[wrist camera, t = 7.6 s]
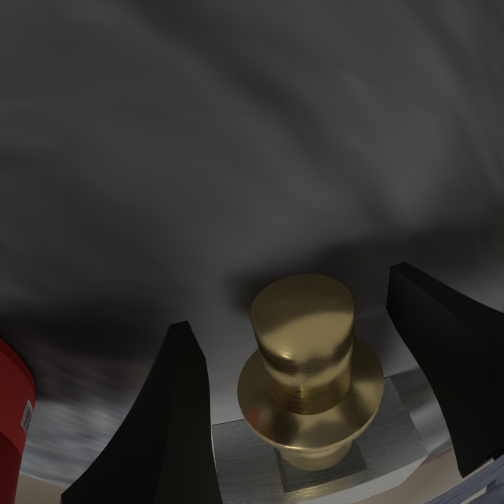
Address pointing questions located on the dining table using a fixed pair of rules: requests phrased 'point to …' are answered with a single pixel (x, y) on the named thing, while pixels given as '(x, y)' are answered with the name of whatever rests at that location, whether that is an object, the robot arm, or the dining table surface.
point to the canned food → (13, 417)
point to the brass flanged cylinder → (308, 372)
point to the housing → (326, 480)
